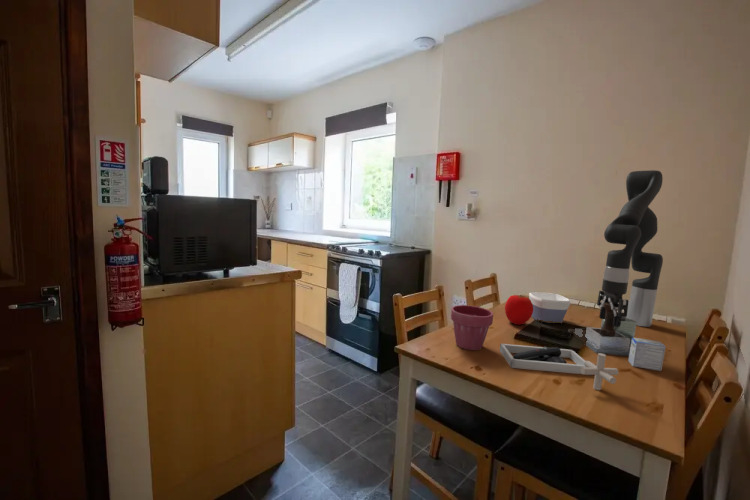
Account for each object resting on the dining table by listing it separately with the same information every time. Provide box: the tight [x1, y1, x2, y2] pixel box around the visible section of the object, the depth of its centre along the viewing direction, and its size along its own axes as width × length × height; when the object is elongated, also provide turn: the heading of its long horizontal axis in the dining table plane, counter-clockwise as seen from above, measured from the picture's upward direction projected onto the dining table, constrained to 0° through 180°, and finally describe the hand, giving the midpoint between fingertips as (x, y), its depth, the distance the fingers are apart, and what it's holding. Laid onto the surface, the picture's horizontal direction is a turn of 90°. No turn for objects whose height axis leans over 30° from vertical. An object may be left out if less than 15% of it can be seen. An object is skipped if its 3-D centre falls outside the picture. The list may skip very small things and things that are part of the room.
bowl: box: [528, 291, 571, 324], centre depth 158 cm, size 15×15×11 cm
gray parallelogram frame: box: [499, 343, 589, 376], centre depth 113 cm, size 13×24×2 cm, turn 85°
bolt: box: [600, 302, 618, 337], centre depth 128 cm, size 6×5×15 cm
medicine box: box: [628, 337, 666, 372], centre depth 114 cm, size 8×4×9 cm, turn 71°
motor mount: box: [574, 317, 637, 357], centre depth 133 cm, size 22×22×10 cm
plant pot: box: [450, 304, 494, 351], centre depth 123 cm, size 14×14×13 cm
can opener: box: [512, 346, 568, 364], centre depth 111 cm, size 18×7×6 cm, turn 101°
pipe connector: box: [580, 353, 619, 391], centre depth 97 cm, size 10×10×10 cm
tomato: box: [504, 294, 533, 326], centre depth 150 cm, size 11×11×13 cm
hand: (609, 322), depth 128 cm, fingers open, 8 cm apart
